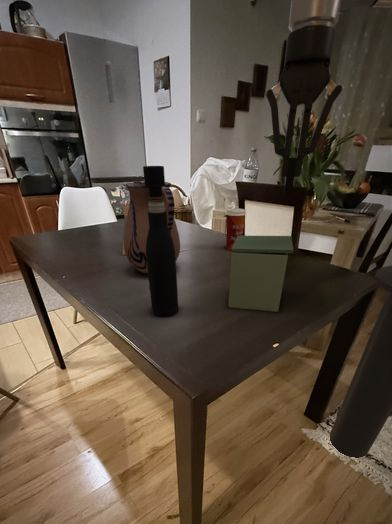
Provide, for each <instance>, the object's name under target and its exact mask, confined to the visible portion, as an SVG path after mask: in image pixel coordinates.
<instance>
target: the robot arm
mask: <svg viewBox="0 0 392 524" xmlns="http://www.w3.org/2000/svg"><path fill="white" fill-rule="evenodd" d="M352 8H358V9H359V8H360V9H361V8H365V9H366V8H384V9H386V8H387V9H392V0H291V3H290V11H289V18H288V30H289V31H290V33H289V34H288V36H287V38H286V46H285V54H284V64H283V70H282V73H281V74H280V77H279V82H278V83H277V84H276V85H274V86H273V87H272V88H271V89H268V90H267V91H266V92H265V97H266V99H267V100H266V101H267V102H268V104H269V107H270V113H271V114H270V115H271V124H272V125H271V126H272V136H273V148H274V153H275V154H277V155H279V156H280V157H282V163H281V169H280V177H281V178H285V181H284V182H285V183H284V190H283V197H292V195H293V188H294V182H295V178H299V177H300V176H301V174H302V170H303V169H302V168H303V163H304V159H305V157H306V156H309V155H311V154H313V153H314V152H315V151H316V148H317V145H318V142H319V140H320V138H321V135H322V132H323V130H324V127H325V125H326V123H327V120H328V118H329V115H330V112H331V109H332V107H333V104H334V103H335V101H336V100H337V98H338V97H339V96H340V94H341V93H342V91H343V86H342V85H340V84H337V83H336V82H335V81H333V80H332V71H331V62H332V56H333V51H334V45H335V40H336V34H337V31H336V29H335V26H337V24H338V22H339V18H340V15H342V14H344V13H347V12H348V11H350V10H351V9H352ZM325 89H326V91H325V93H324V98H325V101H324V103H323V106H322V108H321V111H320V114H319V116H318V119H317V122H316V124H315V127H314V130H313V133H312V135H311V138H310V140H309V143H308V146H306V145H307V139H308V135H309V134H308V133H309V127H310V123H311V122H310V121H311V114H312V109H313V105H314V103H315V102H316V101H317V100H318V98H319V97H320V96H321V94H322V93H323V92H324V90H325ZM281 92H282V94H283V97H284V99H285V101H286V103H287V105H288V106H289V109H288V116H287V117H288V118H287V126H286V131H285V139H284V140H285V142H284V147H282V143H281V141H282V140H281V131H280V130H281V129H280V118H279V106H278V105H279V104H278V102H279V101H280V98H281V95H280V93H281ZM300 106H303V111H302V118H301V123H300V124H301V125H300V132H299V138H298V145H297V150H296V157H290V156H291V152H292V151H291V150H292V144H293V137H294V132H295V131H294V130H295V122H296V117H297V116H296V115H297V110H298V107H300Z"/></svg>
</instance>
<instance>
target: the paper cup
mask: <svg viewBox="0 0 392 524" xmlns="http://www.w3.org/2000/svg"><path fill="white" fill-rule="evenodd" d="M246 215H247V212H246V209H245V208H238V207H237V208H236V207H233V208H227V209H226V212H225V221H226V223H225V224H226V225H225V227H226V228H225V233H226V235H225V237H226V239H225V240H226V250H227V251H232V247H233V245H234V243H235V241H236V238H237V236H244V227H245V220H246Z"/></svg>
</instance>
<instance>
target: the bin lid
mask: <svg viewBox="0 0 392 524" xmlns="http://www.w3.org/2000/svg"><path fill="white" fill-rule="evenodd" d="M232 252H251V253H288V254H294V244H293V238H292V235H243V236H237V238H236V241H235V243H234V245H233V247H232V250H231V253H232Z"/></svg>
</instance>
